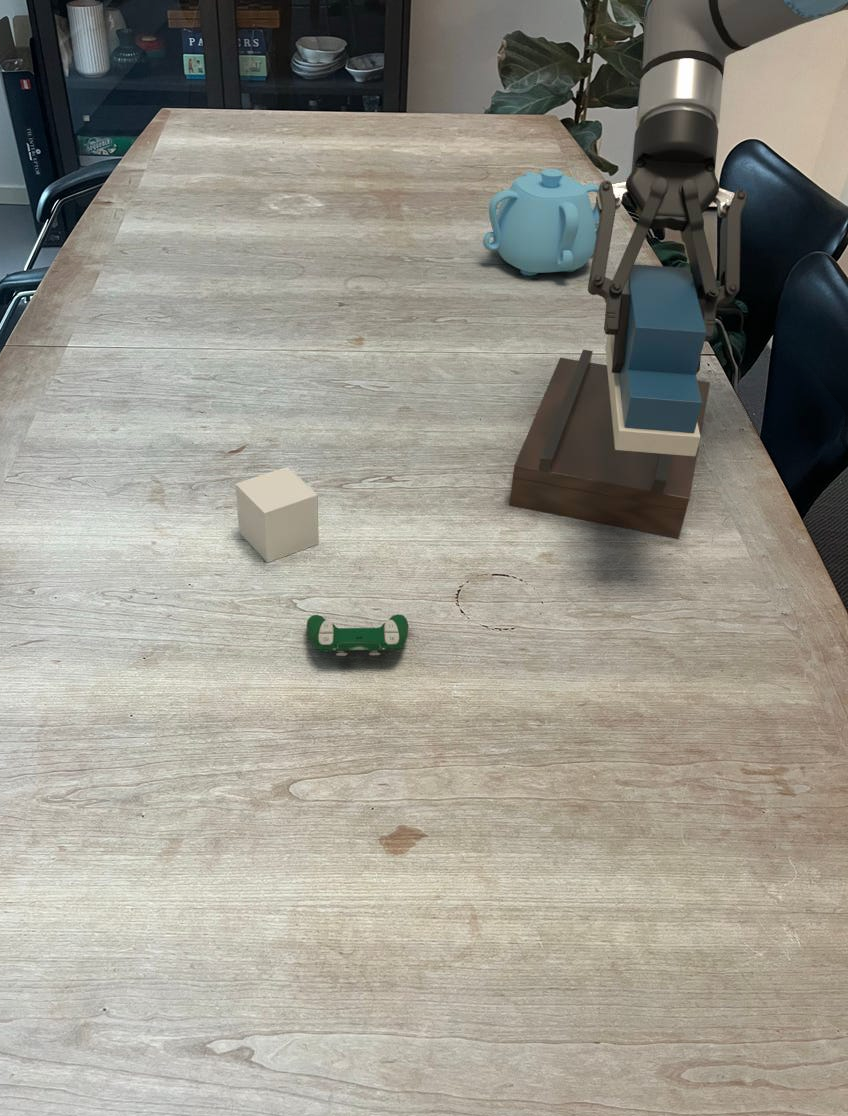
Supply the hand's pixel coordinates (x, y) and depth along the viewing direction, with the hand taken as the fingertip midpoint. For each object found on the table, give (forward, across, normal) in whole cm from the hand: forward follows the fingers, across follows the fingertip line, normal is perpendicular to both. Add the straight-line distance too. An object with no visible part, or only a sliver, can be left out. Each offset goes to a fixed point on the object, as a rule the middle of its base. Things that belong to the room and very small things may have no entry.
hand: (654, 370), depth 95 cm
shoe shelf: (+3, 0, -24) cm, 24 cm away
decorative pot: (-37, +8, -64) cm, 74 cm away
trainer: (+2, 0, -3) cm, 3 cm away
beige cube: (+17, +35, -9) cm, 40 cm away
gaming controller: (+28, +25, +2) cm, 38 cm away
